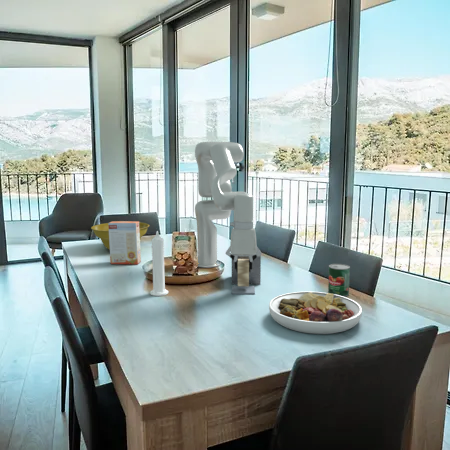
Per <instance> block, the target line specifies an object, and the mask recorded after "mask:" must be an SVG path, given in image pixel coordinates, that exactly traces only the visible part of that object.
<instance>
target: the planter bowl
mask: <svg viewBox="0 0 450 450" xmlns="http://www.w3.org/2000/svg"><path fill="white" fill-rule="evenodd" d="M108 223H109V222H106V223H105V222H104V223H100V224H96V225H93V226H91V227H90V229H91V230H92V231H93V233H94V235H95V236H96V237H97V238H99V239H100V241H101V242H102V244H103V245H104V247H105V248H106V249H107V250H109V251H110V245H109V225H108ZM149 227H150V224H148V223H146V222H141V221H139V231H140V241H141V239H142V237H143V236H145V235H146V233H147V232H148V228H149Z"/></svg>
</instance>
